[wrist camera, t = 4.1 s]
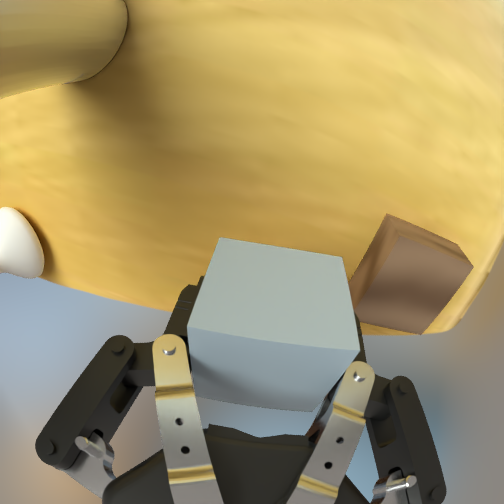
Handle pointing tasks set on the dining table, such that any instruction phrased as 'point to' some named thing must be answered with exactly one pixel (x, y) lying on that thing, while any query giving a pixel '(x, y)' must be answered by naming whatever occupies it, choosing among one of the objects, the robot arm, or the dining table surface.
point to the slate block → (271, 326)
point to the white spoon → (19, 246)
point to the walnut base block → (406, 277)
